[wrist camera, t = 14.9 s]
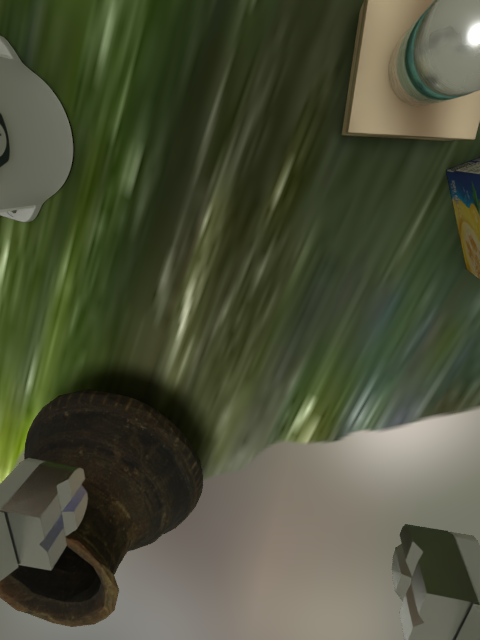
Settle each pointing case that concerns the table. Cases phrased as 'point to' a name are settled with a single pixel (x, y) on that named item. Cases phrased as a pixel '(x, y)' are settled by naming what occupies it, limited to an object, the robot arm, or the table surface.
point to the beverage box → (467, 210)
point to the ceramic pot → (105, 499)
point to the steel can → (438, 54)
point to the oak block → (376, 92)
